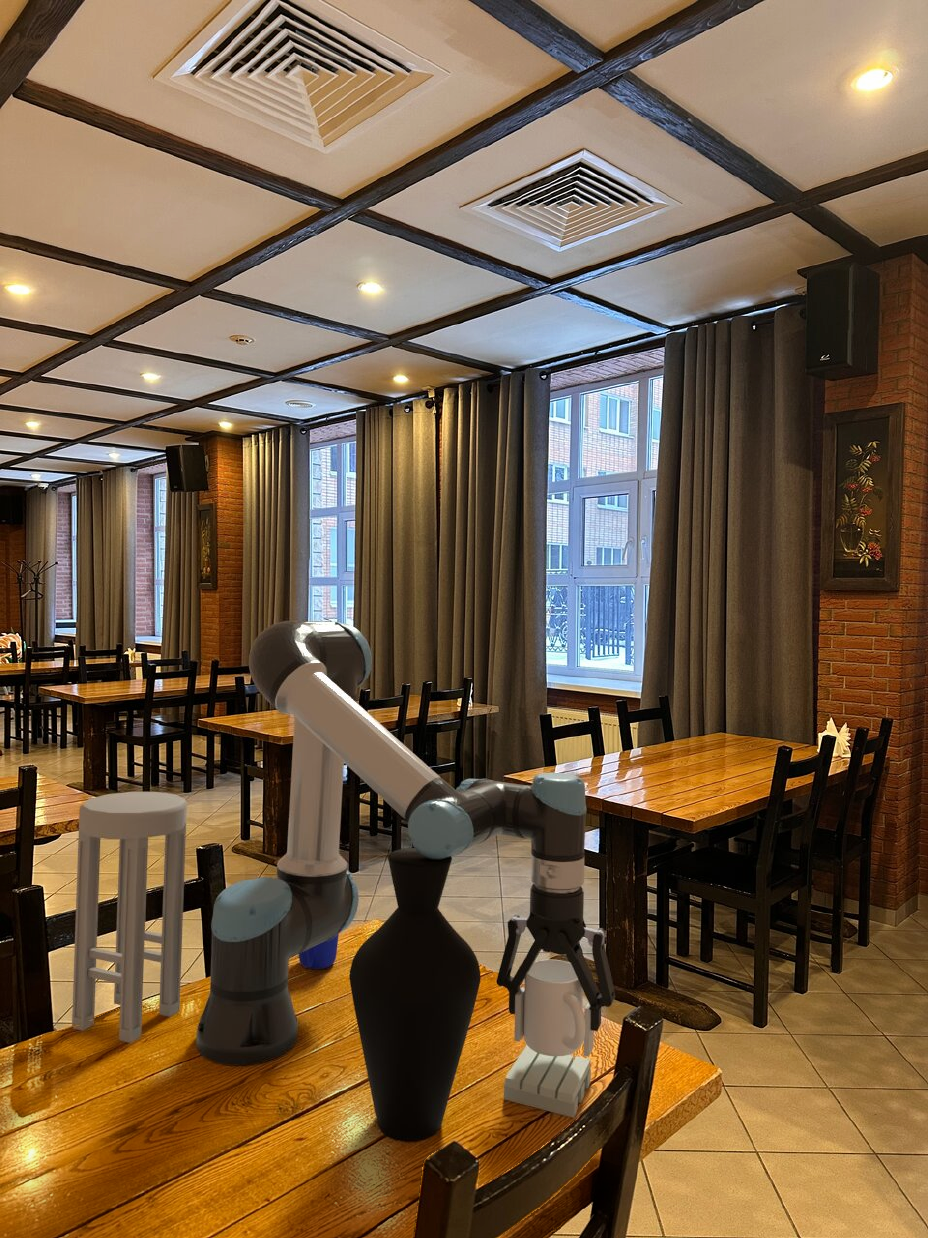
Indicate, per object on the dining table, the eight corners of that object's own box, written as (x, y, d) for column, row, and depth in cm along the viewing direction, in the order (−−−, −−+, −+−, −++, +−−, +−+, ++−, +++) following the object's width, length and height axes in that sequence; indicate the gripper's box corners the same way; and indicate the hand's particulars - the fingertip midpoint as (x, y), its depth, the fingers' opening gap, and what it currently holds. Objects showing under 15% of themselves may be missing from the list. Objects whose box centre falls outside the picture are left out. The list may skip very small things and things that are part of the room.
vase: (355, 1082, 120) (364, 836, 120) (475, 1089, 119) (485, 842, 119) (332, 1161, 103) (343, 874, 103) (473, 1169, 102) (484, 881, 102)
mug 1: (280, 979, 152) (282, 924, 152) (304, 953, 164) (306, 901, 164) (324, 984, 151) (326, 928, 151) (344, 957, 163) (346, 905, 162)
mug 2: (607, 1064, 115) (609, 989, 115) (554, 1076, 112) (555, 998, 112) (563, 1025, 126) (564, 956, 126) (513, 1035, 123) (514, 964, 123)
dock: (502, 1100, 117) (503, 1077, 117) (525, 1065, 126) (525, 1044, 126) (573, 1119, 113) (574, 1095, 113) (590, 1081, 122) (591, 1059, 122)
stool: (122, 990, 145) (129, 787, 145) (197, 1008, 140) (205, 797, 140) (51, 1031, 131) (58, 805, 130) (131, 1052, 125) (140, 817, 125)
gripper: (474, 882, 120) (471, 1040, 120) (629, 904, 112) (626, 1074, 112) (492, 868, 127) (489, 1017, 127) (640, 888, 119) (636, 1048, 119)
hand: (553, 1044), depth 119 cm, fingers closed on mug 2, 9 cm apart
